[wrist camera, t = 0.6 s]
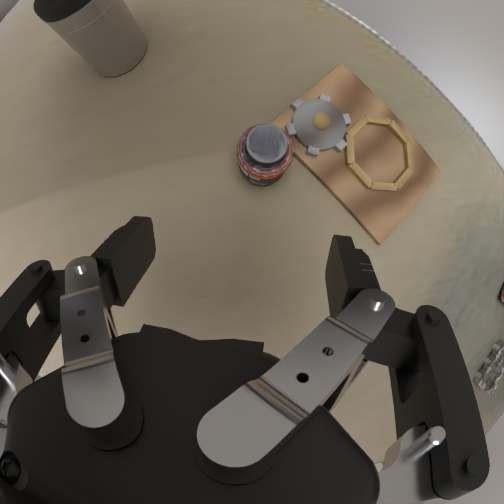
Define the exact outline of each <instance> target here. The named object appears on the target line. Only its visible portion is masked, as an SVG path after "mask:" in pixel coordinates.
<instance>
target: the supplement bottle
mask: <svg viewBox="0 0 504 504" xmlns="http://www.w3.org/2000/svg"><path fill="white" fill-rule="evenodd" d="M237 155H238V161H239V168H240V171H241V173H242V175H243V176H244V178H245V179H246V180H247V181H248V182H250V183H252V184H254V185H257V186H268V185H271V184H273V183H275V182H276V181H278V180H279V179H280V178H281V176H282V175H283V174H284V172H285V171H286V170H287V168H288V167H289V165H290V163H291V161H292V158H293V145H292V142H291V139H290V138H289V136H288V135H287V133H286V132H285V131H283V130H282V129H281V128H279V127H277V126H275V125H271V124H258V125H255V126H253V127H250V128H249V129H248V130H246V131H245V132H244V133H243V135H242V136H241V138H240V140H239V142H238V146H237Z"/></svg>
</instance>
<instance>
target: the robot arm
mask: <svg viewBox="0 0 504 504" xmlns="http://www.w3.org/2000/svg"><path fill="white" fill-rule="evenodd" d="M34 11H35V13H36V14H37V15H38V16H39V17H40V18H41V19H42V20H43V21H44V22H45V23H46V24H48V25H49V26H50V27H51V28H52V29H53V30H54V31H55V32H56V33H57V34H59V35H60V36H61V37H62V38H63V39H64V40H65V41H66V42H67V43H68V44H69V45H70V46H71V47H72V48H73V49H74V50H75V51H77V52H78V53H79V54H80V55H81V56H82V57H83V58H84V59H85V60H86V61H87V62H88V63H89V64H90V65H91V66H92V67H93V68H94V69H95V70H96V71H97V72H99V73H100V74H101V75H103V76H106V77H115V76H119V75H122V74H124V73H126V72H128V71H129V70H131V69H132V68H134V67H135V66H136V65H137V64H138V63H139V62H140V61H141V59H142V58H143V56H144V54H145V52H146V48H147V42H146V39H145V37H144V36H143V34H142V32H141V30H140V29H139V27H138V25H137V23H136V21H135V20H134V18H133V16H132V14H131V13H130V11H129V9H128V7H127V6H126V4H125V2H124V1H123V0H35V1H34ZM155 252H156V247H155V240H154V232H153V224H152V220H151V218H150V217H141V216H134V217H133V218H132V219H131V220H130V221H129V222H128V223H127V224H126V225H125V226H122V227H120V228H119V229H117V230H115V231H114V232H113V233H112V234H111V235H110V236H109V238H107V239H106V240H105V241H104V243H102V244H101V245H100V246H99V248H98V249H97V250H96V251H95V252H94V253H93V254H92V255H91V256H90V257H89V256H84V257H79V258H76V259H74V260H72V261H71V262H70V263H68V265H67V266H66V268H65V270H56V271H53V270H52V267H51V264H50V262H49V261H47V260H40V261H36V262H34V263H32V264H30V265H29V266H28V267H27V268H26V269H25V270H24V271H23V272H22V273H21V274H20V275H19V276H18V278H17V279H16V280H15V281H14V282H13V283H12V284H11V286H10V287H9V288H8V289H7V290H6V291H5V293H4V294H3V295H2V296H1V297H0V428H7V434H6V442H5V447H4V451H3V454H2V456H1V458H0V504H444V503H446V502H449V501H451V500H453V499H456V498H458V497H460V496H462V495H464V494H467V493H469V492H471V491H473V490H475V489H476V488H478V487H480V486H481V485H482V484H483V483H484V481H485V480H486V478H487V476H488V473H489V467H490V465H489V457H488V451H487V445H486V440H485V435H484V430H483V426H482V421H481V417H480V413H479V409H478V405H477V401H476V398H475V394H474V391H473V387H472V384H471V381H470V377H469V374H468V371H467V368H466V365H465V362H464V359H463V356H462V354H461V351H460V348H459V345H458V343H457V340H456V337H455V335H454V332H453V330H452V327H451V325H450V322H449V320H448V318H447V316H446V315H445V314H444V313H443V312H442V311H441V310H440V309H438V308H436V307H434V306H430V305H423V306H420V307H419V308H418V309H417V311H416V313H415V314H413V313H410V312H406V311H403V310H400V309H398V308H396V307H395V302H394V300H393V298H392V297H391V296H390V295H389V294H387V293H386V292H384V291H382V290H381V289H380V286H379V283H378V280H377V277H376V275H375V272H374V269H373V267H372V265H371V261H370V259H369V256H368V255H367V254H366V253H365V252H364V251H363V250H362V249H355V246H354V243H353V241H352V238H351V237H350V236H341V235H333V238H332V242H331V247H330V251H329V256H328V260H327V265H326V272H325V280H326V287H327V295H328V302H329V310H330V316H328V317H327V318H326V319H324V320H323V321H322V322H321V323H320V324H319V325H318V326H317V327H316V328H315V329H314V330H313V331H312V332H311V333H310V334H309V335H308V336H307V337H305V338H304V339H303V340H302V341H301V342H300V343H299V344H298V345H297V346H296V347H295V348H293V349H292V350H291V351H290V352H289V353H288V354H287V355H286V356H284V357H283V358H282V359H279V358H277V357H275V356H273V355H271V354H269V353H266V352H263V346H264V342H255V341H246V340H238V339H221V340H196V339H194V338H191V337H189V336H186V335H184V334H181V333H179V332H176V331H174V330H171V329H167V328H161V327H156V326H151V325H146V324H143V326H142V328H141V330H140V332H138V333H129V334H124V335H121V336H118V333H117V329H116V326H115V322H114V318H113V314H112V311H111V307H112V305H117V306H122V307H123V306H124V305H125V303H126V302H127V300H128V298H129V297H130V295H131V294H132V292H133V290H134V289H135V287H136V286H137V284H138V283H139V281H140V280H141V278H142V277H143V275H144V274H145V272H146V270H147V269H148V267H149V266H150V264H151V263H152V261H153V260H154V257H155ZM35 302H36V304H37V306H38V309H39V311H40V314H39V315H38V316H37V318H36V319H35V321H34V322H33V324H32V325H31V326H30V328H29V326H28V324H27V319H26V318H27V314H28V312H29V310H30V309H31V307H32V306H33V305H34V303H35ZM60 334H61V335H62V347H63V358H64V366H62V367H60V368H59V369H57V370H55V371H53V372H51V373H49V374H48V375H46V376H44V377H42V378H40V379H39V380H37V381H35V382H34V380H35V378H36V376H37V375H38V373H39V371H40V369H41V367H42V365H43V364H44V362H45V360H46V358H47V356H48V355H49V353H50V351H51V349H52V348H53V346H54V344H55V343H56V341H57V339H58V338H59V336H60ZM368 361H372V362H376V363H379V364H382V365H386V366H388V367H389V374H390V380H391V388H392V395H393V403H394V412H395V422H396V433H397V441H396V442H394V443H393V444H392V445H391V446H390V447H389V448H388V450H387V451H386V454H385V458H384V464H383V467H382V469H381V471H377V469H376V467H375V465H374V463H373V461H372V460H371V459H370V458H369V456H368V455H367V454H366V453H365V452H364V451H363V450H362V449H361V448H360V446H359V445H358V444H357V443H356V442H355V441H354V440H353V439H352V437H351V436H350V435H349V434H348V433H347V432H346V431H345V430H344V428H343V427H342V426H341V425H340V424H339V423H338V422H337V420H336V419H335V418H334V417H333V416H332V415H331V411H332V410H333V409H334V408H335V406H336V405H337V404H338V402H339V401H340V399H341V398H342V396H343V395H344V394H345V392H346V391H347V390H348V388H349V387H350V386H351V384H352V383H353V382H354V381H355V379H356V378H357V377H358V375H359V374H360V373H361V371H362V370H363V368H364V367H365V366H366V364H367V363H368Z"/></svg>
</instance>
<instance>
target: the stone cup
mask: <svg viewBox="0 0 504 504" xmlns="http://www.w3.org/2000/svg"><path fill="white" fill-rule="evenodd" d="M501 300H502V302H503V303H504V286H503V290H502V295H501Z"/></svg>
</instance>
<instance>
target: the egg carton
mask: <svg viewBox="0 0 504 504" xmlns="http://www.w3.org/2000/svg"><path fill="white" fill-rule="evenodd" d="M501 351H504V343H503V342H501V341H499V342H498V343H496V344H494V345H493V351H492V354H491V355H490V356H489V357H486V358H485V360H484V366H483V368H482V369H481V370H480V371H477V372H476V374H475V380H474V382H475V383H477V384H478V385H479V386H480V387H481V389H482V390H485V391H487V392H488V393H489V394H493V391H495V389H496V387H497V386H498V384H499V382H498V380H499V379H500V378H501V376H502V373H503V371H504V356H502V355H501ZM493 363H494V364H495V365H496V368H495V370H494V371H492V372H491V373H490V374H489V376H488V381H487V382H486V383H484V382H483V381H482V379H483V378H484V376H485V375H486V374H488V372H489V370H491V367H490V366H491V365H492V364H493Z"/></svg>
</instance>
